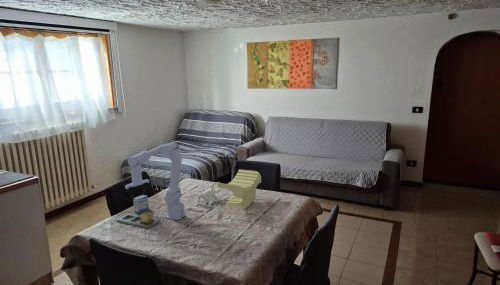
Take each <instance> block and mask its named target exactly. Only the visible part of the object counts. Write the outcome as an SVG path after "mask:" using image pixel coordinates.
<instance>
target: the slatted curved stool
mask: <svg viewBox="0 0 500 285" xmlns="http://www.w3.org/2000/svg"><path fill="white" fill-rule="evenodd" d="M261 183H262V176H261V174H260V172H259V171H256V170H249V169H248V170H247V169H238V171H237V173H236V174H235V176H234V178H233V179H232V180H231V181H229V182H228V183H221V182H220V183H217V184H216V185H217V188H219V189H222V190H223V189H224V190H228V191H230V192H231V193H233V194H234V196H232V197H231V198H230V199H229V200H227V201H226V202H225V207H231V208H238V209H241V210H242V209H247V208H248V207H249V206H250V205H251V204H252V203H254V201H255V200H256V199H257V198H256V197H257V196H256V195H257V187H258V185H259V184H261Z"/></svg>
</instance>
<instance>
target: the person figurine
mask: <svg viewBox="0 0 500 285" xmlns="http://www.w3.org/2000/svg"><path fill="white" fill-rule="evenodd" d="M217 183H221V182H220V181H218V182H217V181H213V182H212V184H210V186H209V188H208V189H207V190H205V191H203V192H200V193H199V194H198V196H197V201H196V203H195V204H194V206H195V207H197V206H198V204H199V203H200V200H201V199H202V201H207V202H208V204H207V207H208V208H211V209H212V208H213V205H212V204H214V203H215V202H216V201H220V200H221V199H222V197H223V196H224V192H223V193H221V195H220V196H219V197H218V196H217V194H216V193H220V192H221V191H222V190H221V188H218V187H217V188H216V189H215V188H214V187H215V185H218V184H217Z"/></svg>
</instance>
